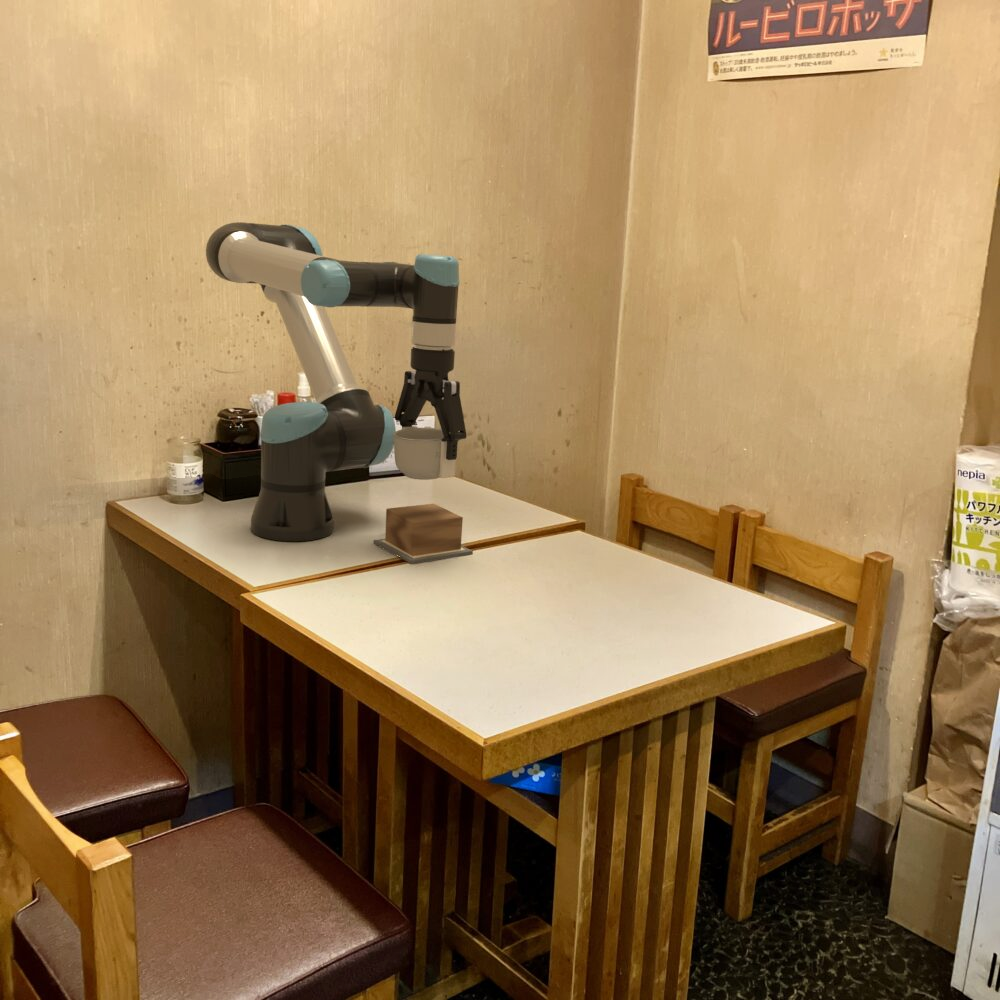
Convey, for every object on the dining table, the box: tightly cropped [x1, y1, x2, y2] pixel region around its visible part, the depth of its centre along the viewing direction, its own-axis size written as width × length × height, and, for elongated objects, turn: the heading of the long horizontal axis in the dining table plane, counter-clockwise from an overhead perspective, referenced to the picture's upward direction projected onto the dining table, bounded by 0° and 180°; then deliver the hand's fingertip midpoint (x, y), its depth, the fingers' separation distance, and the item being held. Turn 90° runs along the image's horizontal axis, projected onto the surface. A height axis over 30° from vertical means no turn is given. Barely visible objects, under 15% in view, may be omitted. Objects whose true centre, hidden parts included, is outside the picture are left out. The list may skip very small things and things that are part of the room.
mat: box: [372, 538, 474, 565], centre depth 181 cm, size 13×13×1 cm
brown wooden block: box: [384, 503, 464, 556], centre depth 180 cm, size 10×10×6 cm
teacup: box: [393, 426, 450, 481], centre depth 177 cm, size 14×11×8 cm
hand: (427, 469), depth 177 cm, fingers closed on teacup, 12 cm apart
